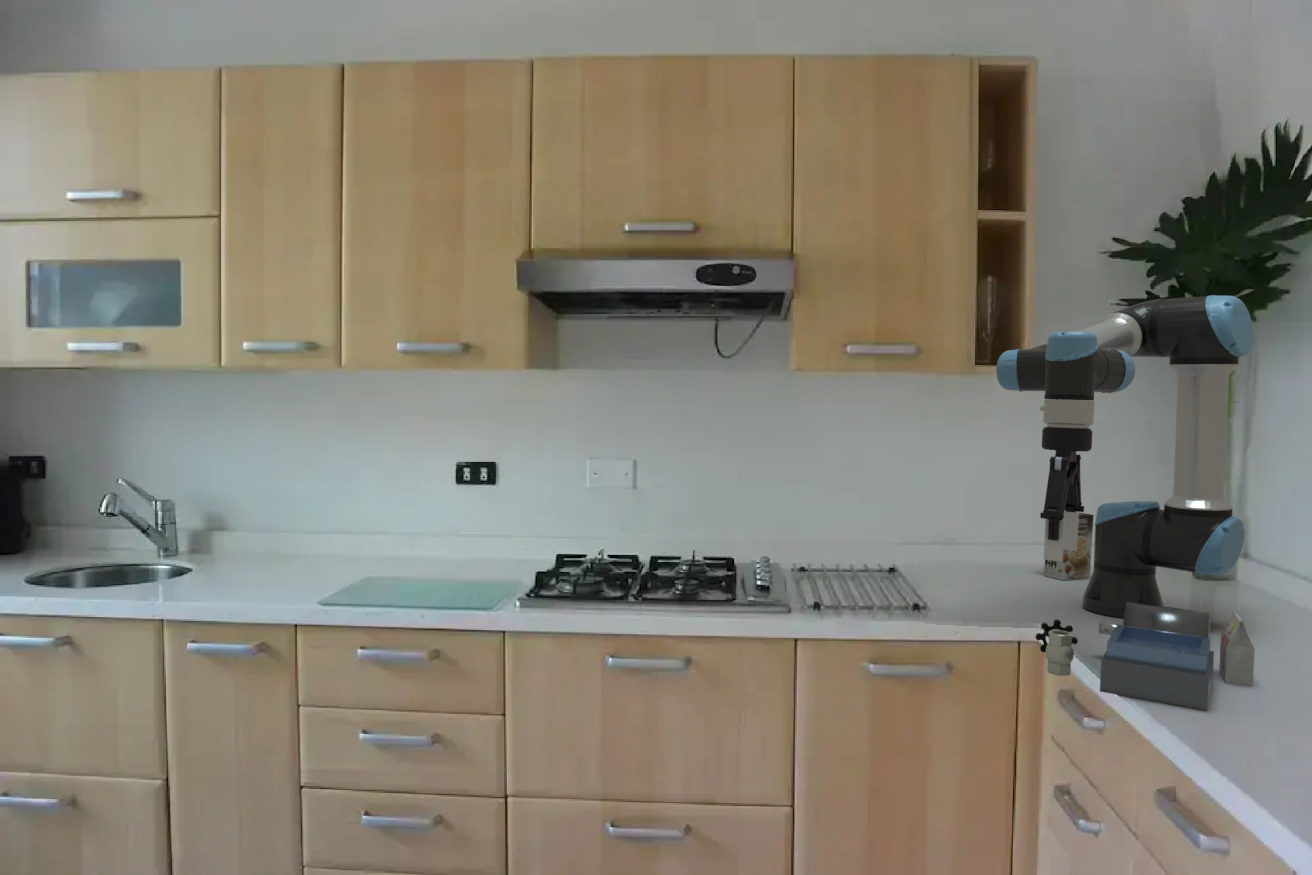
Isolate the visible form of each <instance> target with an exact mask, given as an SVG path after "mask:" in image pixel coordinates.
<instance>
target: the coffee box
mask: <svg viewBox="0 0 1312 875" xmlns="http://www.w3.org/2000/svg"><path fill="white" fill-rule="evenodd" d="M1078 513H1079V522H1078V542H1077V551H1072V550H1063V561H1053V560H1044V567H1043V569H1044V570H1043V576H1044V577H1048V578H1051V579H1056V580H1059V581H1075V580H1087V579H1089V580H1090V579H1091V568H1092V567H1091V565H1092V563H1091V562H1092V548H1093V532H1094V531H1093V530H1094V516H1095V515H1094V514H1090V513H1085V512H1078Z"/></svg>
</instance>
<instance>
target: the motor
mask: <svg viewBox="0 0 1312 875" xmlns="http://www.w3.org/2000/svg"><path fill="white" fill-rule="evenodd" d="M1098 627H1099V628H1098V634H1100V635H1107V636H1110V637H1109V638H1108V640H1107V642H1106V651H1105V653H1104V654H1103V656H1102V657H1101V659H1100V662H1101V663H1100V677H1099V678H1100V680H1099V681H1100V682H1099V692H1102V693H1106V694H1113V695H1118V696H1124V697H1129V698H1135V699H1138V700H1139V699H1140V700H1146V701H1152V702H1156V703H1157V702H1158V703H1162V704H1167V705H1168V704H1169V705H1174V706H1179V707H1185V708H1188V709H1195V710H1200V711H1201V710H1202V711H1208V708H1209V702H1210V696H1211V693H1212V692H1211V691H1212V686H1213V675H1214V659H1215V657H1214V656H1215V651H1213V650H1211V640H1212V639H1211V637H1210V635H1211V612H1209V611H1200V610H1192V609H1185V608H1176V607H1171V606H1164V607H1163V606H1155V605H1148V604H1140V603H1132V602H1127V604H1126V608H1125V614H1124V618H1123V623H1122V624H1118V623H1111V622H1104V621H1099V626H1098Z"/></svg>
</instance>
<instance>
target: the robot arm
mask: <svg viewBox="0 0 1312 875" xmlns="http://www.w3.org/2000/svg"><path fill="white" fill-rule="evenodd" d="M1253 331H1254V329H1253V323H1252V319H1251V315H1250V312H1249V309H1248V308H1247V306H1246V305H1245V303H1244V302H1243V301H1242V300H1241V299H1240V298H1238V297H1237V296H1234V295H1215V294H1211V295H1204V296H1202V295H1201V296H1191V297H1190V296H1189V297H1178V298H1176V297H1175V298H1158V299H1152V300H1147V301H1143V302H1139V303H1137V304H1134V305H1130V306H1127V307H1125V308H1121V309H1119V310H1117V311H1113V312H1111V313H1108V314H1106V315H1104V316H1102V317H1101V319H1099V320H1098V321H1097V323H1096V324H1094V325H1093V324H1092V325H1090V326H1088V327H1086V328H1083V329H1080V330H1078V331H1075V330H1074V331H1057V332H1052V333H1051V334H1050V335H1049V336H1048V338H1047V342H1045V343H1043V344H1041V345H1037V346H1034V347H1032V348H1031V347H1030V348H1027V349H1021V348H1016V349H1010V350H1006V351H1004V352H1002V354H1001V355H1000V356H999V357H998V359H997V362H996V379H997V381H998V384H999V385H1000V387H1001V388H1003V389H1005V390H1007V391H1018V392H1044V397H1043V398H1044V404H1043V405H1040V407H1039V410H1040V411H1041V412H1043V418H1042V419H1043V420H1042V421H1043V423H1044V424H1046V426H1045V427H1043V428H1042V431H1041V432H1042V434H1041V448H1042V449H1044V450H1046V451H1047V450H1048V451H1055V455H1054V456H1050V458H1049V469H1048V470H1049V472H1048V478H1047V486H1046V492H1045V499H1044V506H1043V510H1042V512H1040V519H1043V520H1045V522H1044V523H1045V524H1044V525H1045V526H1044V527H1045V529H1044V543H1043V544H1044V545H1043V546H1044V547H1043V560H1044V561H1045V560H1053V561H1063V550H1072V551H1077V542H1078V522H1079V513H1085V506H1084V505H1082V489H1081V488H1082V487H1081V486H1082V485H1081V460H1082V456H1081V454H1078V453H1077V452H1090V451H1091V450H1092V446H1093V430H1092V429H1091V428H1090V426H1092V425H1093V424H1094V418H1095V417H1094V416H1095V393H1103V394H1106V393H1107V394H1112V393H1117V392H1121V391H1124V390H1125V389H1127V387H1128V388H1129V386H1130V385H1131V383H1132V382H1133V380H1134V378H1135V375H1136V364H1135V362H1134V360H1133V358H1136V357H1137V358H1140V357H1145V358H1147V357H1148V358H1169V368H1171V369H1172V370H1173V371H1174V372H1175V373H1176V375H1177V386H1176V387H1177V389H1176V417H1175V420H1176V421H1175V443H1174V445H1175V446H1174V468H1173V469H1174V471H1173V494H1172V496H1171V497H1169V498H1168V499H1167V500H1166V501H1165V502H1164V506H1163V507H1164V508H1163V509H1161V506H1160V503H1159V502H1158V501H1150V500H1148V501H1147V500H1145V501H1138V500H1137V501H1119V502H1118V501H1117V502H1116V501H1115V502H1105V503H1102V504H1101V505H1099V506H1098V507H1097V510H1096V515H1095V522H1094V527H1095V528H1094V529H1095V530H1094V549H1093V551H1094V553H1093V572H1092V575H1090V579H1089V581H1088V583H1087V586H1086V589H1085V591H1084V594H1083V597H1082V607H1083V608H1084V609H1085V610H1086V611H1090V612H1092V613H1094V614H1095V613H1096V614H1099V615H1103V616H1110V617H1116V618H1123V619H1124V614H1125V608H1126V604H1127V602H1132V603H1140V604H1148V605H1155V606H1163V607H1165V605H1164V601H1163V599H1162V595H1161V592H1160V588H1159V585H1158V582H1157V579H1156V576H1157V574H1156V573H1157V570H1156V569H1157V568H1164V569H1171V570H1176V571H1177V570H1178V571H1182V572H1183V571H1185V572H1188V573H1195V574H1197V575H1209V576H1223V575H1225V574H1227V573H1229V572H1230V571H1231V570H1232V569H1233V568H1234V566H1236V564H1237V562H1238V560H1239V557H1240V556H1241V554H1242V553H1241V552H1242V550H1243V546H1244V542H1245V531H1246V530H1245V528H1244V527H1245V526H1244V522H1243V520H1242V519H1240V518H1238V517H1236V516H1233V511H1234V510H1233V505H1231V503H1229V501H1227V500H1226V498H1225V480H1226V479H1225V476H1226V474H1225V473H1226V453H1227V452H1226V451H1227V430H1228V428H1227V427H1228V425H1227V424H1228V407H1229V406H1228V404H1229V384H1230V383H1229V381H1230V374H1232V372H1234V370H1235V369H1237V368H1238V367H1239V364H1240V362H1239V360H1240V358H1241V357H1244V356H1247V355H1248V353H1250V351H1251V349H1252V344H1253V342H1254V341H1253V340H1254V332H1253Z"/></svg>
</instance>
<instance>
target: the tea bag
mask: <svg viewBox="0 0 1312 875" xmlns="http://www.w3.org/2000/svg"><path fill="white" fill-rule="evenodd" d="M1219 649H1220V650H1219V665H1218V666H1219V669H1218V672H1219V674H1220V676H1221V677H1222V679H1223V681H1224V684H1232V685H1241V686H1247V687H1253V686H1254V684H1253V683H1254V667H1255V666H1254V663H1255V652H1256V651H1255V647H1254V645H1253V643H1252V641H1251V639H1250V637H1249V635H1248V634H1247V631H1246V628H1245V625H1244V621H1243V619H1242V618H1241V617H1240V616H1239V614H1238V613H1237V612H1236V613H1235V612H1233V614H1232V617H1231V619H1230V622H1229V623H1228V625H1227V626H1226V628H1225V629H1224V631H1223V632H1222V633H1221V636H1220V647H1219Z"/></svg>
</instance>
